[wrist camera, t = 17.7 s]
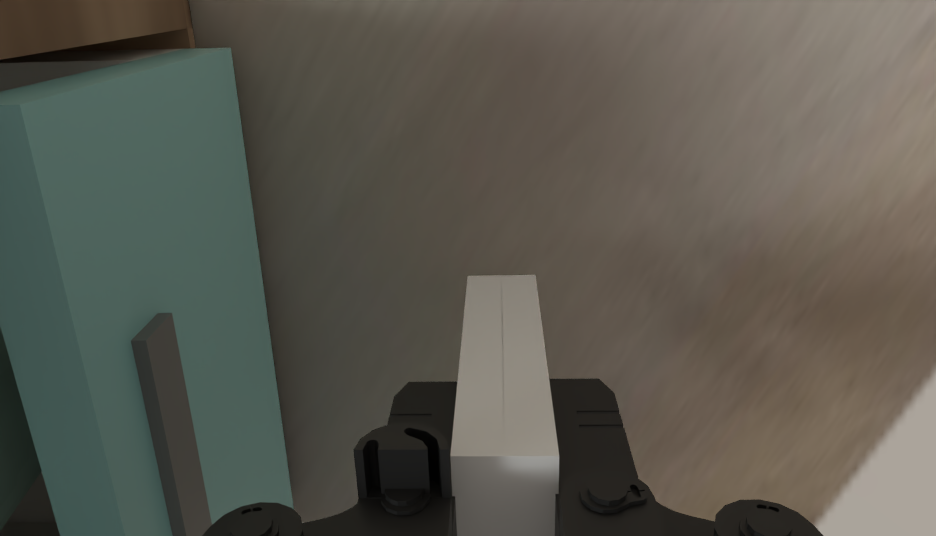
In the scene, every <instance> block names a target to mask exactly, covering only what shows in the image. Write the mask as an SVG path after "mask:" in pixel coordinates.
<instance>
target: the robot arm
mask: <svg viewBox="0 0 936 536" xmlns="http://www.w3.org/2000/svg"><path fill="white" fill-rule="evenodd" d="M354 458H355V467H356V477H357V487H358V496H359V499H358V503H357V504H356V505H355V506H354V507H352V508H350V509H348V510H346V511H344V512H343V513H341V514H338V515H334V516H331V517H328V518H324V519H320V520H316V521H312V522H307V523H303V524H302V522H301V517H300V516H299V515H298V514H297V513H296V512H295V511H294V510H293V509H292V508H291V507H288V506H285V505H282V504H280V503H269V502H259V503H254V504H250V505H245V506H241V507H239V508H237V509H235V510H233V511H231V512H229V513H227V514H225V515H223V516H222V517H221V518H220V519H218V520H217V521H216V522H215V523H214V524H212V525H211V526H210V527H209V528H208V530H207V531H206V532H205V533H204V534H203V535H202V536H823V535H822V534H821V533H820V532H819V531H818V530H817V528H816V527H815V526H814V525H813V524H812V523H810V522H809V521H808V520H807V519H805V518H804V517H803V516H802V515H800V514H799V513H798V512H796V511H793V510H791V509H789V508H787V507H785V506H782V505H780V504H777V503H773V502H768V501H763V500H739V501H736V502H733V503H730V504H727V505H725V506H724V507H723V508H722V509H721V510H720V511H719V512H718V513H717V514H716V519H715V522H714V521H709V520H705V519H701V518H696V517H692V516H688V515H685V514H681V513H678V512H675V511H672V510H670V509H668V508H666V507H664V506H662V505H660V504H659V503H658V502H656V500H655V497H654V496H653V494H652V492H651V491H650V489H649V487H648V486H647V485H646V484H644V483H643V482H642V481H640V480H639V479H638V476H637V472H636V469H635V465H634V462H633V458H632V455H631V451H630V447H629V444H628V440H627V437H626V433H625V430H624V428H623V423H622V419H621V416H620V414H619V408H618V405H617V401H616V398H615V394H614V393H613V392H612V391H611V390H610V389H609V388H608V387H607V386H606V385H605V384H604V383H603V382H602V381H601V380H600V379H549V374H548V366H547V359H546V351H545V343H544V336H543V328H542V320H541V313H540V305H539V298H538V290H537V282H536V275H486V276H468V277H467V287H466V298H465V308H464V319H463V329H462V340H461V350H460V361H459V371H458V381H457V382H408V383H407V384H406V385H405V386H404V387H403V389H402V390H401V391H400V392H399V393H398V394H397V395H396V396H395V397H394V400H393V404H392V408H391V412H390V417H389V421H388V425H387V426H384V427H381V428H378V429H375V430H373V431H371V432H370V433H368V434H367V435H366V436H364V437H363V438H361V439H360V441H359V442H358V444H357V445H356V447H355V449H354Z"/></svg>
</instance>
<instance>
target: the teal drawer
mask: <svg viewBox="0 0 936 536" xmlns="http://www.w3.org/2000/svg"><path fill="white" fill-rule="evenodd" d="M0 327H1V330H2V334H3V337H4V341H5V344H6V348H7V351H8V355H9V358H10V362H11V366H12V369H13V373H14V376H15V380H16V383H17V387H18V390H19V394H20V397H21V401H22V404H23V408H24V411H25V415H26V418H27V422H28V425H29V429H30V432H31V436H32V439H33V443H34V446H35V450H36V453H37V457H38V460H39V464H40V467H41V473H40V474H39V476H38V477H37V479H36V480H35V481H34V483H33V484H32V486H31V487H30V489H29V490H28V492H27V493H26V495H25V496H24V498H23V499H22V500H21V502H20V503H19V505H18V506H17V508H16V509H15V511H14V512H13V514H12V515H11V517H10V518H9V520H8V521H7V522H6V524H5V525H4V527H3V528H2V530H1V531H0V536H202V535H203V534H204V533H205V532H206V531H207V530H208V528H209V527H210V526H211V525H212V524H214V523H215V522H216V521H217V520H218V519H220V518H221V517H222V516H223V515H225V514H227V513H229V512H231V511H233V510H235V509H237V508H239V507H241V506H245V505H250V504H254V503H259V502H269V503H280V504H282V505H285V506H288V507H291V508H292V509H293V510H294V507H293V500H292V492H291V485H290V478H289V470H288V463H287V456H286V448H285V441H284V434H283V426H282V419H281V412H280V404H279V397H278V390H277V382H276V375H275V368H274V360H273V353H272V346H271V338H270V331H269V324H268V316H267V309H266V302H265V294H264V287H263V280H262V272H261V265H260V258H259V250H258V243H257V236H256V228H255V221H254V214H253V206H252V199H251V192H250V185H249V177H248V170H247V163H246V155H245V148H244V141H243V133H242V126H241V119H240V111H239V104H238V97H237V89H236V82H235V75H234V67H233V60H232V53H231V48H189V49H145V50H100V51H55V52H43V53H37V54H31V55H25V56H19V57H13V58H7V59H2V60H0Z"/></svg>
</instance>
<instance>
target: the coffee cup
mask: <svg viewBox="0 0 936 536" xmlns="http://www.w3.org/2000/svg"><path fill="white" fill-rule="evenodd" d="M40 473H41V467H40V464H39V460H38V457H37V453H36V450H35V446H34V443H33V439H32V436H31V432H30V429H29V425H28V422H27V418H26V415H25V411H24V408H23V404H22V401H21V397H20V394H19V390H18V387H17V383H16V380H15V376H14V373H13V369H12V366H11V362H10V358H9V355H8V351H7V348H6V344H5V341H4V337H3V334H2V330H1V327H0V531H1V530H2V528H3V527H4V525H5V524H6V522H7V521H8V520H9V518H10V517H11V515H12V514H13V512H14V511H15V509H16V508H17V506H18V505H19V503H20V502H21V500H22V499H23V498H24V496H25V495H26V493H27V492H28V490H29V489H30V487H31V486H32V484H33V483H34V481H35V480H36V479H37V477H38V476H39V474H40Z"/></svg>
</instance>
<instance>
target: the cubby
mask: <svg viewBox="0 0 936 536" xmlns="http://www.w3.org/2000/svg"><path fill="white" fill-rule="evenodd" d="M189 48H196V47H195V41H194V34H193V27H192V21H191V14H190V8H189V1H188V0H0V60H2V59H7V58H13V57H19V56H25V55H31V54H37V53H43V52H55V51H100V50H145V49H189Z"/></svg>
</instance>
